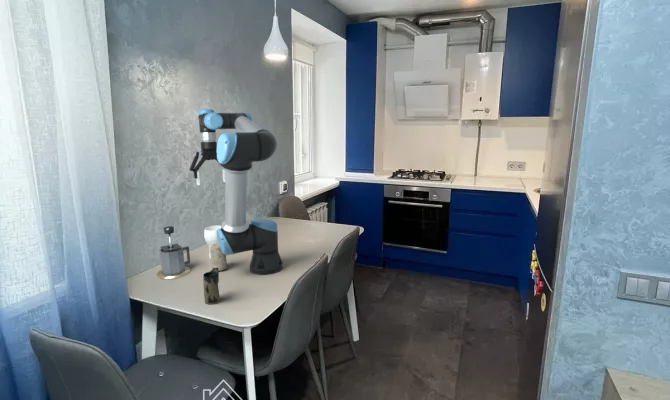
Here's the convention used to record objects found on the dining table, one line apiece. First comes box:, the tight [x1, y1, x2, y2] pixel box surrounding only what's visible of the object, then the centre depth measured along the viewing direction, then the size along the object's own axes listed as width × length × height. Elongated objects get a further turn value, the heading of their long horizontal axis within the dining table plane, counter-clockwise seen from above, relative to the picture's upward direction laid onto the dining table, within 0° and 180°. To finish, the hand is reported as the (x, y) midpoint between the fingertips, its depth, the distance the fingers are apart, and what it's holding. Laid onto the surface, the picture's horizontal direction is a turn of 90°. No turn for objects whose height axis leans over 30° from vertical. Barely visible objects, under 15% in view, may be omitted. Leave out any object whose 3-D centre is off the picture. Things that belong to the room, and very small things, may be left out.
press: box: [156, 243, 191, 280], centre depth 165 cm, size 14×14×12 cm
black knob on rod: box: [163, 225, 175, 252], centre depth 164 cm, size 6×6×19 cm
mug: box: [202, 267, 221, 305], centre depth 139 cm, size 8×6×12 cm
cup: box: [203, 225, 221, 259], centre depth 185 cm, size 11×11×15 cm
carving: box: [209, 243, 228, 271], centre depth 168 cm, size 6×8×12 cm
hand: (211, 183), depth 186 cm, fingers open, 13 cm apart
